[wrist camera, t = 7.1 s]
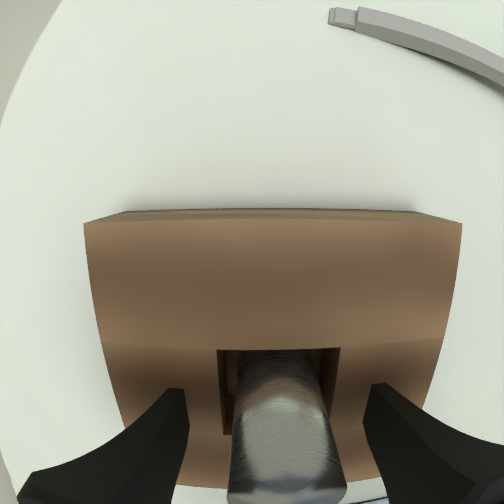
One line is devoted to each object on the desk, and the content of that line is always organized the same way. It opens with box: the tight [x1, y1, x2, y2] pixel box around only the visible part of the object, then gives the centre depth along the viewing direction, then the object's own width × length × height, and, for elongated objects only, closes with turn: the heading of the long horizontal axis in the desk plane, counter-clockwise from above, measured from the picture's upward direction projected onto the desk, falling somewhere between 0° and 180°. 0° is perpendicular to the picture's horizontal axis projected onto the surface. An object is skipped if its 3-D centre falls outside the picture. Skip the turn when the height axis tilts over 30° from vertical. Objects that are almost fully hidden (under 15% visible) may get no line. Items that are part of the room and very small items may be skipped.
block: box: [84, 208, 462, 489], centre depth 14 cm, size 14×14×4 cm
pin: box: [227, 349, 347, 504], centre depth 11 cm, size 3×3×8 cm
